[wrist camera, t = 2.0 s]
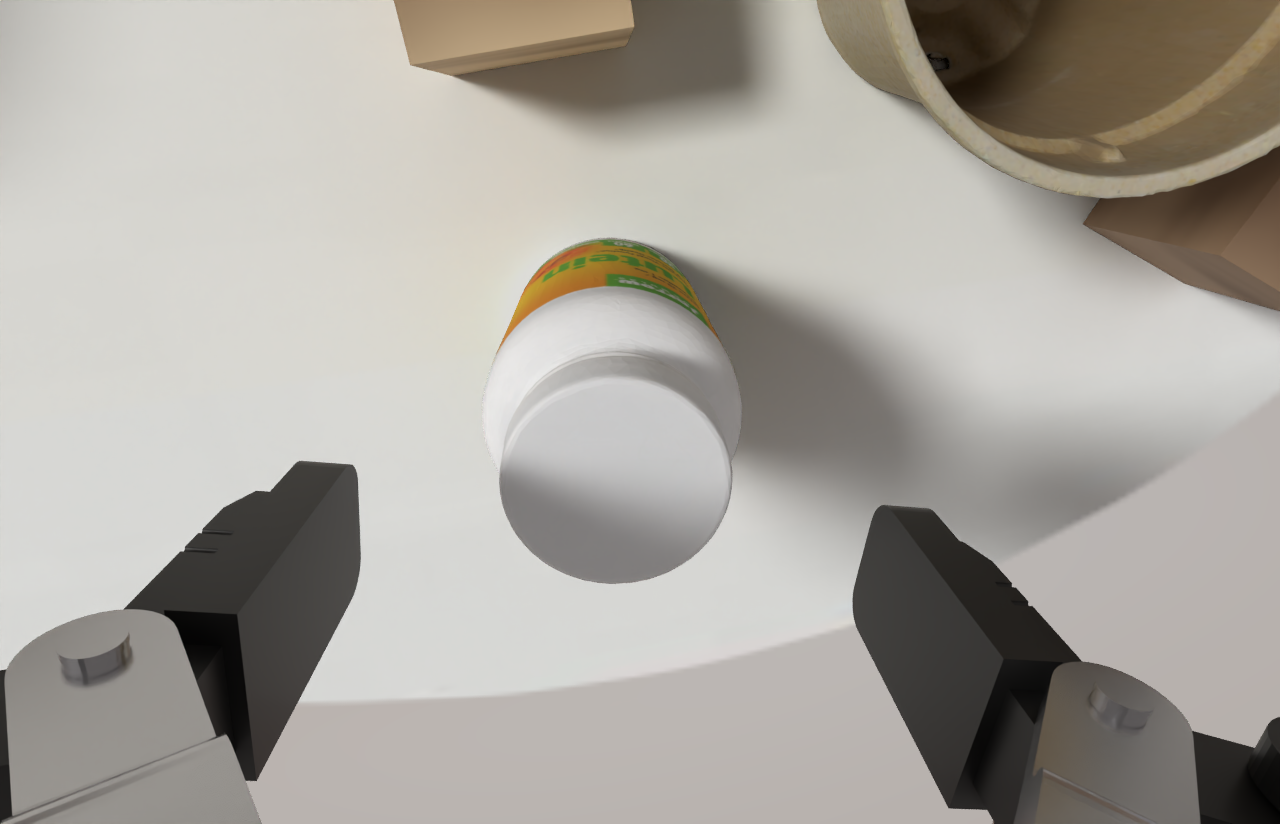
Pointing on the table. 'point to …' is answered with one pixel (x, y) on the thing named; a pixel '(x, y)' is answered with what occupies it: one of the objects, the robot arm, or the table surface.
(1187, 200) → the walnut block
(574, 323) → the supplement bottle
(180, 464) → the table surface
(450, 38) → the oak cube
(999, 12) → the flower pot
